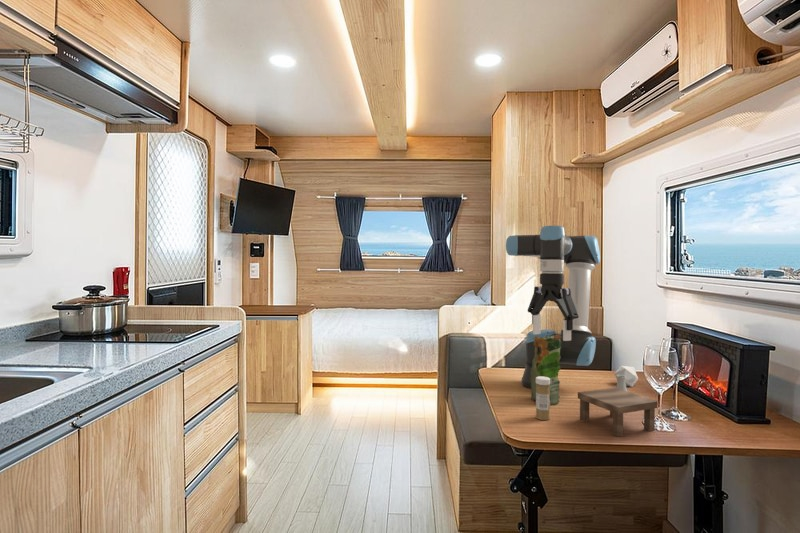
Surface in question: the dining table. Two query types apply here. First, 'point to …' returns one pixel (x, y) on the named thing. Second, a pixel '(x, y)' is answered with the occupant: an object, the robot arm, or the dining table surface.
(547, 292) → the robot arm
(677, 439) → the dining table surface
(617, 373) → the die
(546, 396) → the sprinkles bottle
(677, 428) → the dining table surface
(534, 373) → the pouch
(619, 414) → the walnut stool
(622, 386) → the flask
